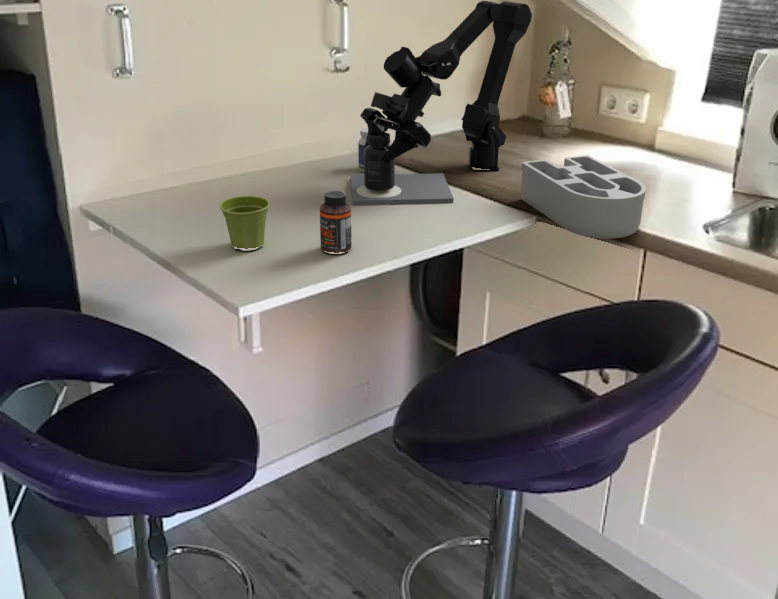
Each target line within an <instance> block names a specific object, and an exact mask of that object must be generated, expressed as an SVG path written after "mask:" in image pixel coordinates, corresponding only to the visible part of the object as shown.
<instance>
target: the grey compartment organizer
mask: <svg viewBox="0 0 778 599" xmlns="http://www.w3.org/2000/svg"><path fill="white" fill-rule="evenodd" d="M563 160H564V161H563V166H558V165H557V164H555V163H553V162H552V161H550V160H548V159H539V160H538V159H537V160H529V161H522V162H521V171H522V173H521V185H520V196H521V200H522V201H523V202H525V203H526V204H528V205H529V206H531V207H532V208H533V209H535V210H537V212H540V213H541V214H543V215H544V216H546V217H547V218H549V219H550V220H551V221H553V222H555V223H556V224H558V225H559V226H561V227H562V228H563V229H564V230H566V231H568V232H570V233H573V234H575V235H578V236H581V237H588V238H594V239H606V240H607V239H608V240H611V239H619V238H625V237H629V236H632V235H634V234H635V233H637V231H638V229H639V227H640V225H641V221H642V214H643V206H644V200H645V198H646V192H647V191H646V190H647V187H646V185H645V184H644V183H643V182H641V181H639V180H637V179H636V178H633V177H632V176H630V175H628V174H625V173H624V172H622V171H619V170H618V169H616V168H614V167H612V166H610V165H608V164H606V163H605V162H602V161H600V160H598V159H597V158H594V157H593V156H591V155H589V154H585V155H576V156H575V155H574V156H566V157H564V158H563Z"/></svg>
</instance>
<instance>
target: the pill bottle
mask: <svg viewBox="0 0 778 599" xmlns="http://www.w3.org/2000/svg"><path fill="white" fill-rule="evenodd" d="M359 132H360V133H359V135H360V136H361V137H360V138H359V139H358V145H357V146H358V148H357V149H358V152H357V153H358V170H359V171H360V172H362V173H364V154H363V151H364V147H365V143H366V139H367V135H368V127H363V128H361V129H360V131H359Z"/></svg>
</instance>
